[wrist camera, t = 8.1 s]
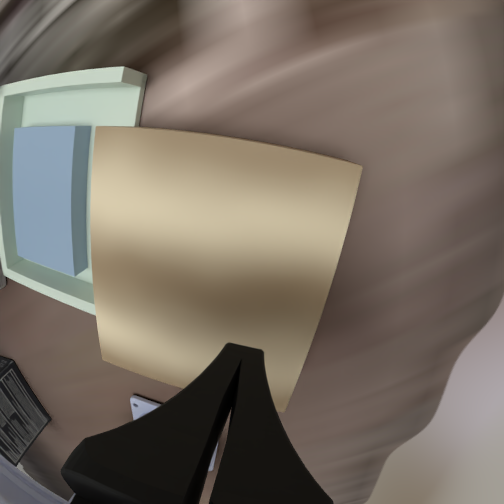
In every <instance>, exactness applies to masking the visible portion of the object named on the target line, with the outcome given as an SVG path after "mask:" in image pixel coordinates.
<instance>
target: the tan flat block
mask: <svg viewBox="0 0 504 504" xmlns="http://www.w3.org/2000/svg"><path fill="white" fill-rule="evenodd" d="M362 168H363V166H361V165H358V164H356V163H353V162H350V161H347V160H344V159H340V158H336V157H332V156H328V155H324V154H319V153H315V152H310V151H306V150H301V149H297V148H292V147H287V146H282V145H277V144H271V143H266V142H260V141H255V140H249V139H243V138H236V137H230V136H223V135H216V134H208V133H201V132H192V131H183V130H174V129H163V128H151V127H134V126H96V129H95V138H94V149H93V161H92V176H91V204H90V235H91V263H92V279H93V291H94V302H95V311H96V319H97V327H98V334H99V341H100V347H101V354H102V359H103V360H104V361H106V362H109V363H111V364H114V365H116V366H119V367H122V368H124V369H127V370H129V371H132V372H135V373H138V374H140V375H143V376H146V377H149V378H152V379H155V380H158V381H161V382H164V383H167V384H170V385H173V386H176V387H180V388H183V389H184V388H185V387H186V386H187V385H189V384H190V383H191V382H192V381H193V380H194V379H195V378H197V377H198V376H199V375H200V374H201V373H202V372H203V371H204V370H205V369H206V368H207V367H208V366H209V365H210V363H211V362H212V361H213V360H214V359H215V358H216V357H217V355H218V354H219V353H220V352H221V350H222V349H223V347H224V346H225V344H227V343H229V342H230V343H234V344H239V345H243V346H248V347H252V348H257V349H262V350H263V352H264V362H265V370H266V376H267V380H268V384H269V388H270V392H271V396H272V399H273V402H274V405H275V408H276V411H279V412H285V410H286V407H287V405H288V403H289V400H290V398H291V395H292V393H293V390H294V388H295V385H296V383H297V380H298V378H299V375H300V373H301V370H302V367H303V365H304V362H305V359H306V357H307V354H308V351H309V349H310V346H311V343H312V340H313V337H314V335H315V332H316V329H317V326H318V323H319V320H320V317H321V314H322V311H323V308H324V305H325V302H326V299H327V296H328V293H329V290H330V287H331V283H332V280H333V277H334V274H335V270H336V267H337V264H338V260H339V257H340V253H341V250H342V247H343V243H344V239H345V236H346V232H347V228H348V225H349V221H350V217H351V213H352V209H353V206H354V202H355V198H356V193H357V189H358V185H359V181H360V177H361V172H362Z"/></svg>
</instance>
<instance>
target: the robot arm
mask: <svg viewBox="0 0 504 504" xmlns="http://www.w3.org/2000/svg"><path fill="white" fill-rule="evenodd" d="M130 402H131V408H132V413H133V419H134V420H133V421H131V422H129V423H127V424H124V425H122V426H120V427H118V428H115V429H112V430H110V431H107V432H103V433H100V434H97V435H94V436H91V437H87V438H85V439H84V440H83V441H82V442H81V443H80V444H79V445H78V446H77V447H76V448H75V449H74V451H73V452H72V453H71V455H70V456H69V458H68V459H67V461H66V462H65V464H64V465H63V467H62V469H61V475H62V477H63V478H64V480H65V481H66V482H67V484H68V485H69V486H70V488H71V489H72V490H73V491H74V492H75V493H74V495H73V496H72V497H71V499H70V500H69V502H68V501H66V500H64V499H62V498H61V497H59V496H57V495H56V494H54V493H53V492H51V491H49V490H48V489H46V488H45V487H43V486H42V485H40V484H39V483H37V482H36V481H34V480H33V479H31V478H30V477H29V476H27V475H26V474H24V473H23V472H22V471H20V470H19V469H18V468H16V467H15V466H14V465H13V464H11V463H10V462H9V461H7V460H6V459H5V458H4V457H3V456H1V455H0V504H199V502H200V498H201V494H202V491H203V487H204V484H205V480H206V477H207V473H208V471H212V470H213V467H214V462H215V457H216V452H217V447H218V442H219V438H220V436H221V433H222V431H223V428H224V426H225V423H226V421H227V418H228V415H229V413H230V410H231V416H230V422H229V429H228V436H227V441H226V445H225V449H224V452H223V456H222V459H221V463H220V466H219V470H218V473H217V477H216V480H215V483H214V487H213V490H212V493H211V497H210V500H209V504H334V503H333V501H332V499H331V498H330V497H329V496H328V495H327V494H326V493H325V492H324V490H323V489H322V488H321V487H320V486H319V484H318V483H317V482H316V481H315V479H314V478H313V477H312V475H311V474H310V473H309V471H308V470H307V468H306V467H305V465H304V464H303V462H302V461H301V459H300V457H299V456H298V454H297V453H296V451H295V449H294V448H293V446H292V444H291V442H290V440H289V438H288V436H287V434H286V432H285V430H284V428H283V426H282V423H281V421H280V419H279V416H278V413H277V411H276V408H275V405H274V402H273V399H272V396H271V392H270V388H269V384H268V380H267V376H266V370H265V362H264V352H263V350H262V349H257V348H252V347H248V346H243V345H239V344H234V343H230V342H229V343H227V344H225V346H224V347H223V349H222V350H221V352H220V353H219V354H218V355H217V357H216V358H215V359H214V360H213V361H212V362H211V363H210V365H209V366H208V367H207V368H206V369H205V370H204V371H203V372H202V373H201V374H200V375H199V376H198V377H197V378H195V379H194V380H193V381H192V382H191V383H190V384H189V385H187V386H186V387H185V388H184V389H183V390H182V391H180V392H179V393H178V394H176V395H175V396H174V397H172V398H171V399H169V400H168V401H167V402H165V403H164V404H162V405H161V404H158V403H155V402H152V401H150V400H147V399H144V398H141V397H139V396H136V395H133V396H132V397H131V398H130ZM231 407H232V409H231Z"/></svg>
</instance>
